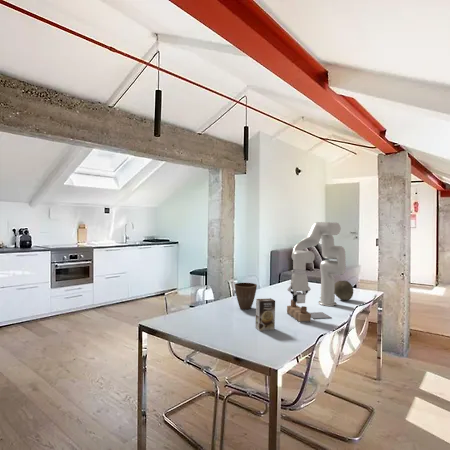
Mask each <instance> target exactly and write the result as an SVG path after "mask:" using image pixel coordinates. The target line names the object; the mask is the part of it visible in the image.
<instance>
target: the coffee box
mask: <svg viewBox="0 0 450 450" xmlns="http://www.w3.org/2000/svg"><path fill="white" fill-rule="evenodd" d="M275 320H276V300H275V299H273V298H271V297H270V298H256V299H255V325H254V326H255V328H256V330H258V331H259V332H264V331H275V322H276V321H275Z"/></svg>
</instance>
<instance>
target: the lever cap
mask: <svg viewBox="0 0 450 450" xmlns="http://www.w3.org/2000/svg"><path fill="white" fill-rule="evenodd" d="M296 304H306V295H305V294H303V293H302V291H296Z"/></svg>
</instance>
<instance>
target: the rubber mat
mask: <svg viewBox="0 0 450 450" xmlns="http://www.w3.org/2000/svg"><path fill="white" fill-rule="evenodd" d="M309 313H310V314H311V319H312V318H313V320H317V319H316V318H328V319H332V318H333V317H331V316H329V315H328V314H326V313H325V312H322V311H318V312H315V311H314V312H309Z"/></svg>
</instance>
